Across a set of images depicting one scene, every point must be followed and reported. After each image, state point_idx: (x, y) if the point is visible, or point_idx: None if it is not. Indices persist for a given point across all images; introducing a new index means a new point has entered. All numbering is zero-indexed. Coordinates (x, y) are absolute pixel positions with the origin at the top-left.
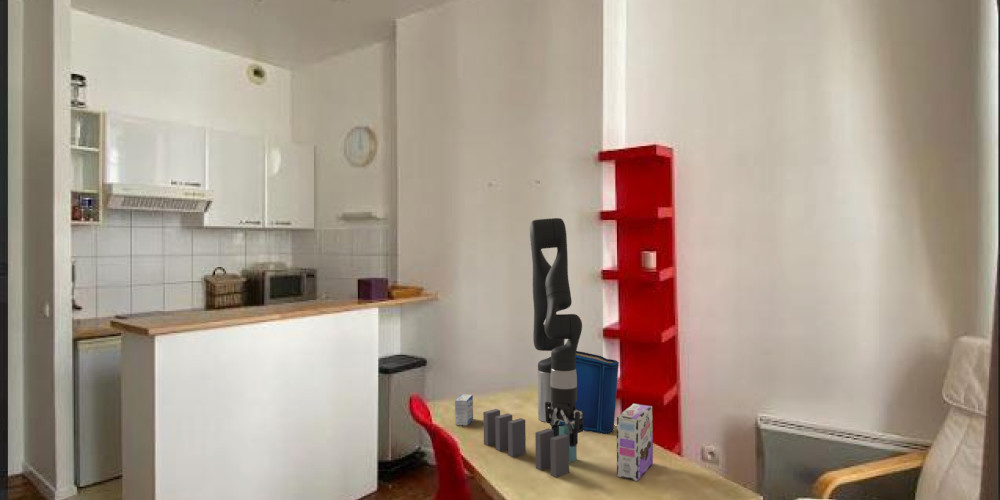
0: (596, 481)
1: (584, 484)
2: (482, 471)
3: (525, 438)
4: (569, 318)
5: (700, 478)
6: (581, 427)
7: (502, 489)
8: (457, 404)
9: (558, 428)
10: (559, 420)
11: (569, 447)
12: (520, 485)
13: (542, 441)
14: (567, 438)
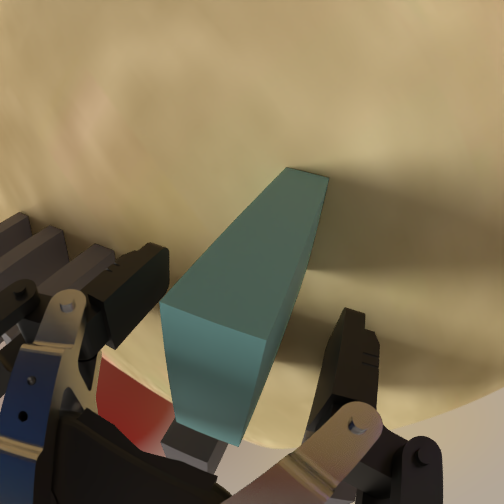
0: (493, 344)
1: (456, 379)
2: (159, 394)
3: (71, 284)
4: None
5: None
6: (420, 489)
7: (263, 445)
8: None
9: (118, 297)
10: (77, 356)
11: (299, 280)
12: (283, 432)
13: (223, 451)
14: (351, 492)
